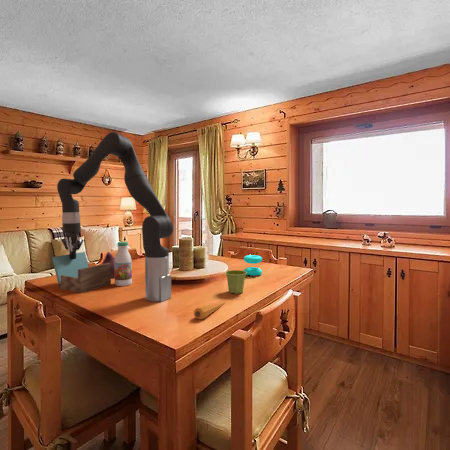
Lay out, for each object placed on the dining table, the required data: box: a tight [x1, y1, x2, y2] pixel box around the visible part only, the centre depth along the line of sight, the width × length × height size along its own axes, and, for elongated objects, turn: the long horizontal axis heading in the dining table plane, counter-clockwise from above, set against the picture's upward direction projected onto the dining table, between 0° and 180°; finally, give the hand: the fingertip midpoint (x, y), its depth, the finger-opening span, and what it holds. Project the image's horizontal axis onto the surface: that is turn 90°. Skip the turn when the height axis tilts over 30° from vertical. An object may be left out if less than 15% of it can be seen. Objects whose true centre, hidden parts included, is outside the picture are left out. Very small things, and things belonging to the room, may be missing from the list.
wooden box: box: [57, 263, 112, 294], centre depth 139 cm, size 15×16×10 cm
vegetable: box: [102, 251, 115, 280], centre depth 156 cm, size 10×10×15 cm
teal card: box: [51, 251, 90, 284], centre depth 143 cm, size 2×16×12 cm, turn 152°
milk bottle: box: [114, 241, 133, 287], centre depth 142 cm, size 8×8×20 cm
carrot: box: [193, 302, 225, 320], centre depth 108 cm, size 20×4×4 cm, turn 153°
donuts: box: [243, 254, 263, 277], centre depth 164 cm, size 10×10×10 cm
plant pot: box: [224, 269, 247, 295], centre depth 131 cm, size 9×9×9 cm
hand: (73, 259), depth 142 cm, fingers closed
